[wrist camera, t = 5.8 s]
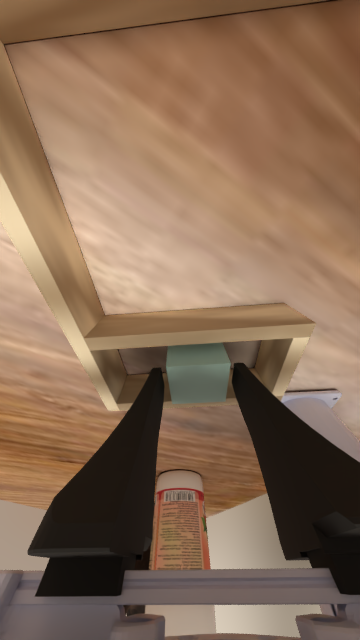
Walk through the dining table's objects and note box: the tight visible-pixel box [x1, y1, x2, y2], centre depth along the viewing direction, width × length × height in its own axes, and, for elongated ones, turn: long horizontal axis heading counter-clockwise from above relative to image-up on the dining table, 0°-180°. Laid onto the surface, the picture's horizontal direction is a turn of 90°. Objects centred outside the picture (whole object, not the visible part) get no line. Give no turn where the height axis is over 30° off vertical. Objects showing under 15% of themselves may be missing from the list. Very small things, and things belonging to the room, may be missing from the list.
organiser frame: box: [0, 0, 328, 411], centre depth 9 cm, size 21×15×3 cm
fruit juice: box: [145, 470, 216, 637], centre depth 19 cm, size 9×9×28 cm
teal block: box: [166, 343, 231, 404], centre depth 12 cm, size 4×4×4 cm
